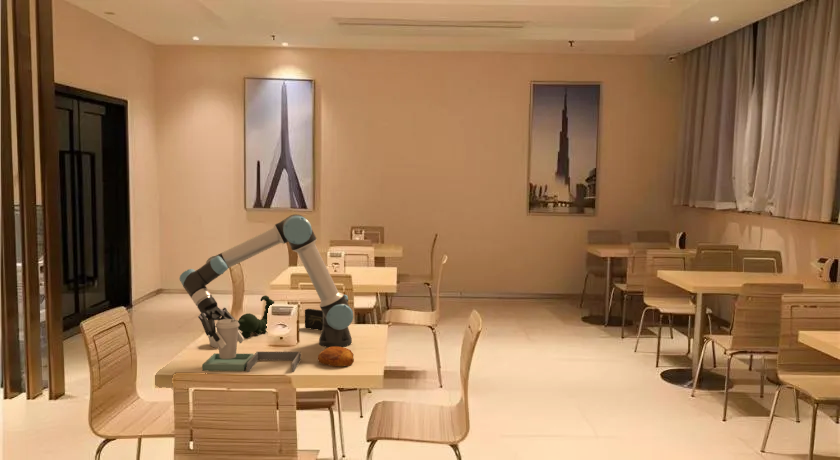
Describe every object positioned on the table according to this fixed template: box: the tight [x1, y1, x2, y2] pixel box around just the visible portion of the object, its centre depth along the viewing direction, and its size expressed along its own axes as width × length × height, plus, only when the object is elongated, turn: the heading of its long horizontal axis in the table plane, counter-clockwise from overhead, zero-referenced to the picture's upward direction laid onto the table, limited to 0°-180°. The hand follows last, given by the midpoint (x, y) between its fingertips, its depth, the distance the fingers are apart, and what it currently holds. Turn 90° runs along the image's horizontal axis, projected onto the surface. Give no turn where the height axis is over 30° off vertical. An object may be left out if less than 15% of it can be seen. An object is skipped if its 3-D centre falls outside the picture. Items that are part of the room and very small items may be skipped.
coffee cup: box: [215, 318, 240, 359], centre depth 279 cm, size 10×10×15 cm
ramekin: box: [207, 335, 219, 349], centre depth 312 cm, size 11×11×5 cm
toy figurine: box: [237, 295, 275, 339], centre depth 332 cm, size 10×19×26 cm
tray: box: [201, 352, 255, 372], centre depth 280 cm, size 17×17×3 cm
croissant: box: [317, 347, 355, 368], centre depth 285 cm, size 14×16×8 cm
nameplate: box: [304, 308, 323, 331], centre depth 343 cm, size 21×2×10 cm, turn 61°
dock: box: [246, 351, 302, 373], centre depth 280 cm, size 19×18×4 cm
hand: (233, 343), depth 278 cm, fingers closed on coffee cup, 9 cm apart
